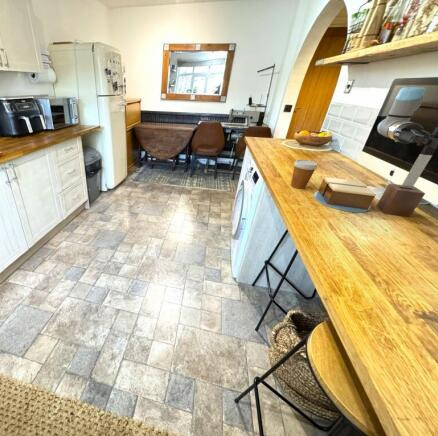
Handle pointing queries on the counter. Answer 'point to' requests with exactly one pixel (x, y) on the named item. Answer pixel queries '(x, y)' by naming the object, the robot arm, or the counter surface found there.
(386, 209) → the knife block
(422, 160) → the cake knife
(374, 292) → the counter surface
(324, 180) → the cake
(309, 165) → the disposable coffee cup
